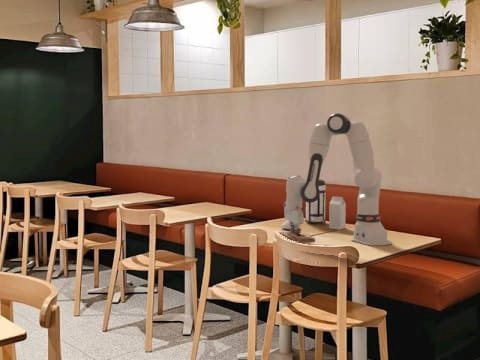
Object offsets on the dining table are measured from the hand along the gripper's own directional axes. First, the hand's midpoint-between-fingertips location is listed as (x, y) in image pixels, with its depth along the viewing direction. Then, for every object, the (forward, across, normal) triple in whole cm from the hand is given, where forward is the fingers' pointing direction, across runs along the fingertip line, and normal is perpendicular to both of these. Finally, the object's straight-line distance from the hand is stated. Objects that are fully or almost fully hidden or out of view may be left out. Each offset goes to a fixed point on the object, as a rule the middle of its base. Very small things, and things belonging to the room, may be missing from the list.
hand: (294, 229), depth 329 cm
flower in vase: (+4, +23, -8) cm, 25 cm away
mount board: (+4, -4, 0) cm, 6 cm away
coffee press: (+4, +36, -29) cm, 47 cm away
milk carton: (+4, +15, -34) cm, 37 cm away
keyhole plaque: (+2, -7, 0) cm, 7 cm away
